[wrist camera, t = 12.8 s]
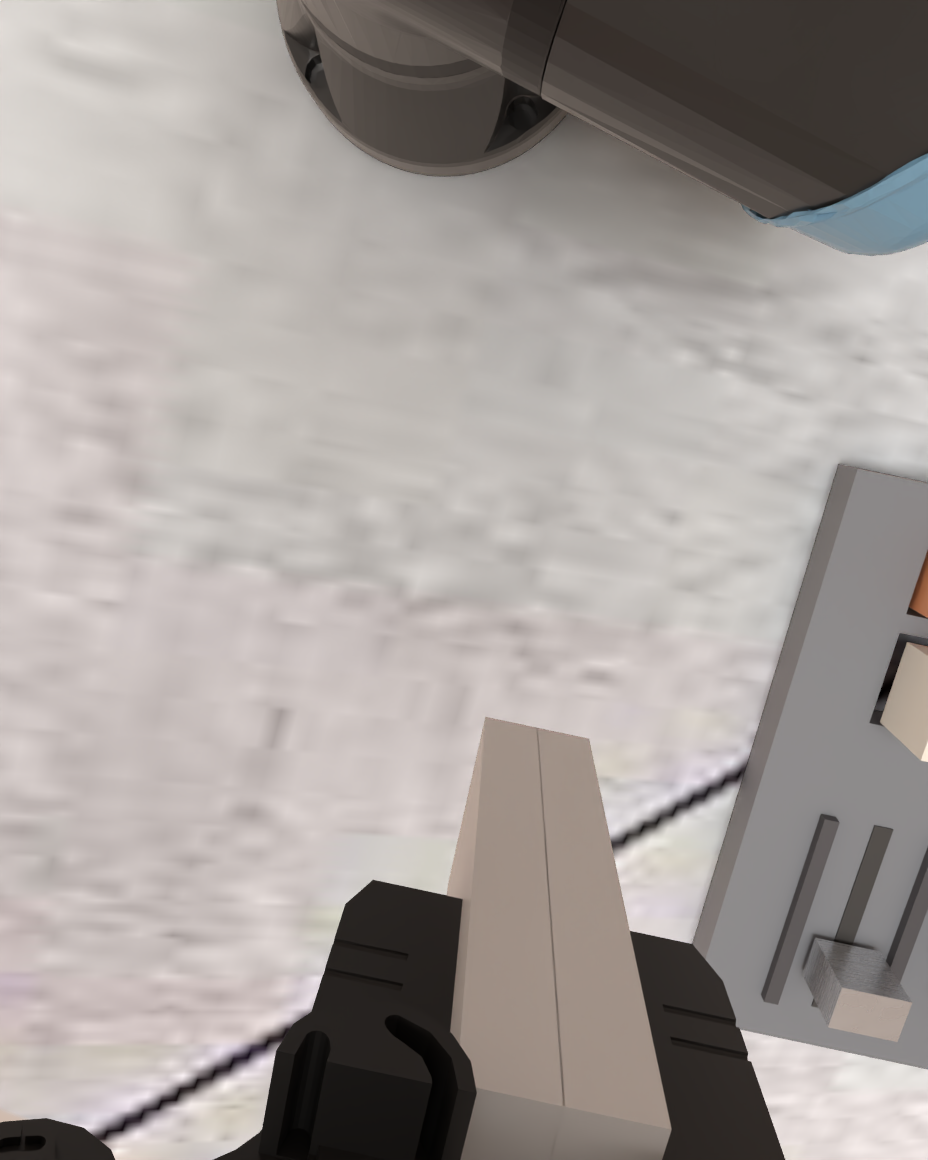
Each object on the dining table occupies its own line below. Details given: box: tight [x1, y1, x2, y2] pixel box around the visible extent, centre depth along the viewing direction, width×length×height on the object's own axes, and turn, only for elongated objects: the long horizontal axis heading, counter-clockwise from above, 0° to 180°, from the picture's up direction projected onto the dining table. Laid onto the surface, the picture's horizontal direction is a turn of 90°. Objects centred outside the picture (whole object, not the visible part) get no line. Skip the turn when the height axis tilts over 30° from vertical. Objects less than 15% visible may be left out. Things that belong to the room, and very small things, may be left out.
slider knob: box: [803, 938, 912, 1042], centre depth 46 cm, size 2×4×4 cm, turn 78°
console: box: [693, 464, 928, 1069], centre depth 46 cm, size 32×18×4 cm, turn 168°
